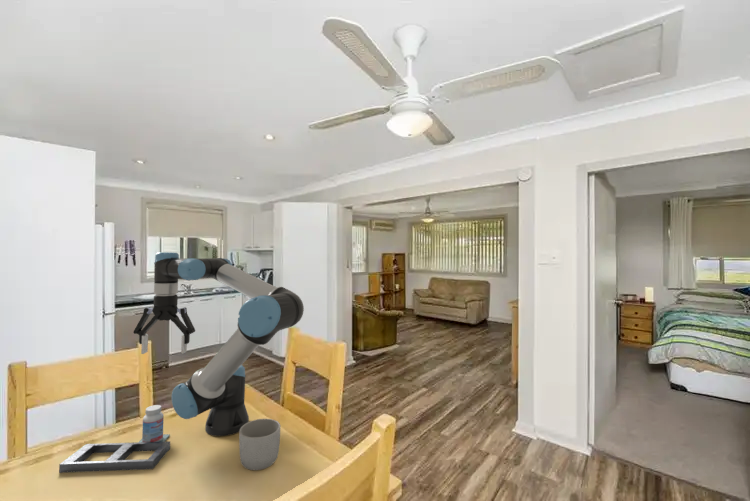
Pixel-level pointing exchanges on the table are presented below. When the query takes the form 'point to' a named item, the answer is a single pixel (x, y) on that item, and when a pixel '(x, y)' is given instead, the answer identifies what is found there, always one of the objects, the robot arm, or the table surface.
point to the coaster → (162, 438)
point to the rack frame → (114, 457)
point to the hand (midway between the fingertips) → (164, 352)
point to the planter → (259, 443)
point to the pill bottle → (152, 424)
